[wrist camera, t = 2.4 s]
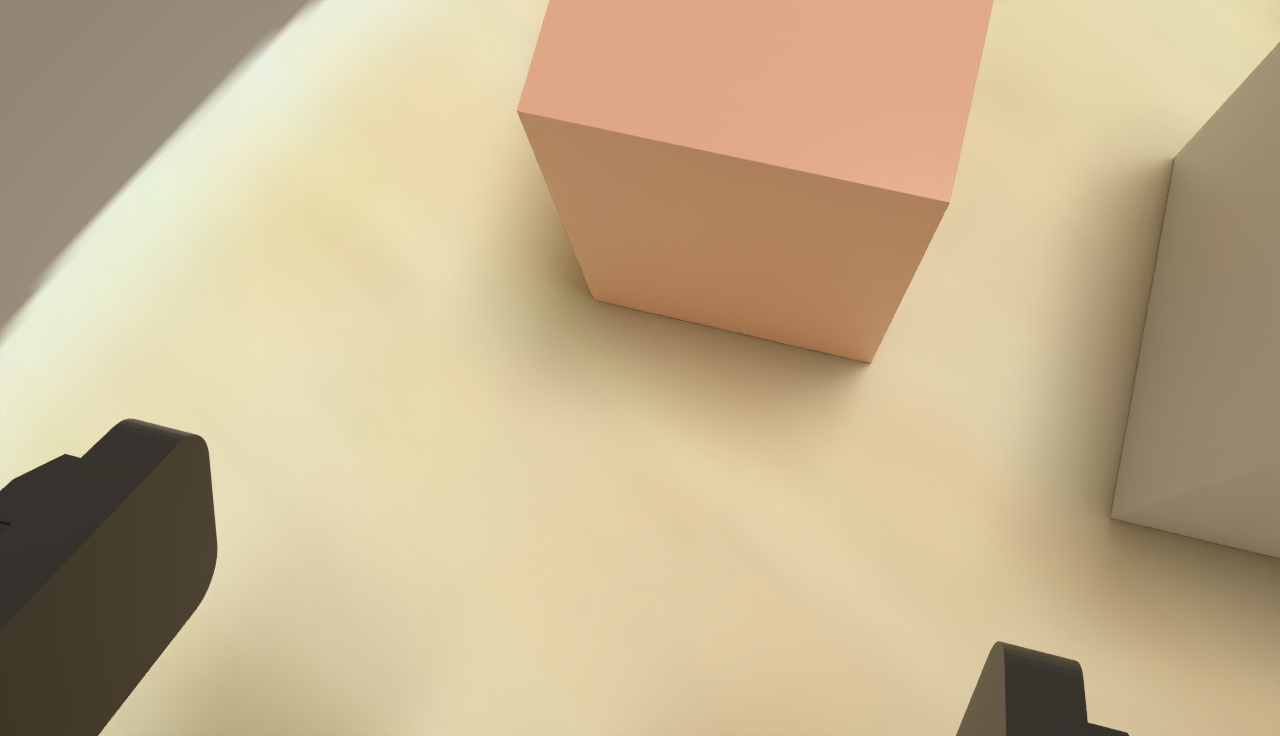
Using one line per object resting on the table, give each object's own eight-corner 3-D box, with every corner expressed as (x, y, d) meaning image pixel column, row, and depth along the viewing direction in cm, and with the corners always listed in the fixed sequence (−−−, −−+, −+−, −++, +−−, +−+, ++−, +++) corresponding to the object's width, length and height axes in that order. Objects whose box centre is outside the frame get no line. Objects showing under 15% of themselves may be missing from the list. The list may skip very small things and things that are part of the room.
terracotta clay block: (682, -26, 30) (657, -363, 20) (946, 25, 29) (1058, -300, 19) (593, 299, 28) (516, 111, 18) (870, 363, 27) (949, 202, 17)
